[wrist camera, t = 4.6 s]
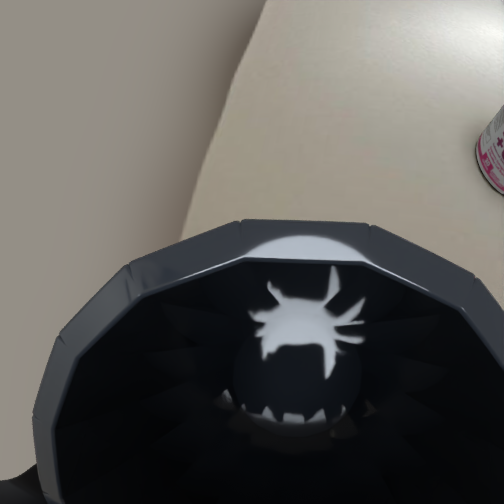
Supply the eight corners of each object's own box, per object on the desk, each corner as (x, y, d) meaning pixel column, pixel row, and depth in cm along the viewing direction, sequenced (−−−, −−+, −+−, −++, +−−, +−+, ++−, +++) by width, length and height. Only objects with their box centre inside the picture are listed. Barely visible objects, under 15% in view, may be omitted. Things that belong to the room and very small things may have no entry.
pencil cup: (358, 440, 13) (451, 626, 1) (223, 432, 14) (70, 591, 2) (371, 307, 15) (556, 234, 3) (233, 302, 16) (46, 218, 4)
